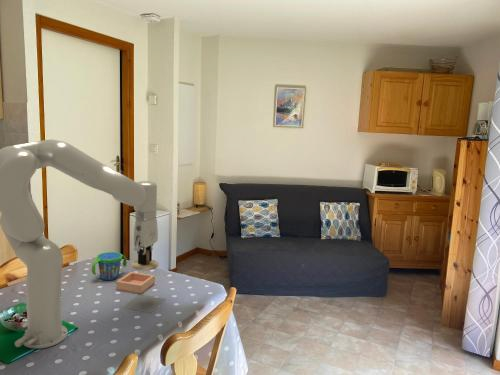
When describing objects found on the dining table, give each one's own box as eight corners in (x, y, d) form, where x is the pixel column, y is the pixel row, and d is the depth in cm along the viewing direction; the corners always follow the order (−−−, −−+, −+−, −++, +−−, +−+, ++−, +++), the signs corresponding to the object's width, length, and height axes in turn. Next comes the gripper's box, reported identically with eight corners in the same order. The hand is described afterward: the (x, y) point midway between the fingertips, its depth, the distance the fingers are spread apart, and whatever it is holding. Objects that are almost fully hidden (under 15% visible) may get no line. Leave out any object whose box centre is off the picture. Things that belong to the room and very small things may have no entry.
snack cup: (121, 270, 177) (121, 249, 175) (131, 277, 169) (131, 255, 167) (87, 277, 166) (86, 255, 164) (96, 285, 158) (96, 262, 157)
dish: (141, 295, 152) (141, 285, 151) (116, 290, 155) (116, 281, 154) (154, 284, 163) (155, 275, 162) (131, 280, 166) (131, 271, 165)
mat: (151, 313, 137) (151, 312, 137) (121, 308, 140) (121, 307, 140) (166, 299, 149) (166, 299, 149) (139, 295, 152) (139, 294, 152)
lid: (150, 272, 136) (150, 256, 135) (125, 268, 139) (125, 253, 138) (163, 263, 146) (163, 248, 145) (139, 259, 148) (140, 245, 147)
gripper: (143, 220, 131) (142, 271, 133) (165, 211, 146) (164, 257, 149) (124, 218, 132) (123, 268, 135) (147, 209, 148) (147, 254, 151)
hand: (144, 262), depth 142 cm, fingers closed on lid, 3 cm apart
